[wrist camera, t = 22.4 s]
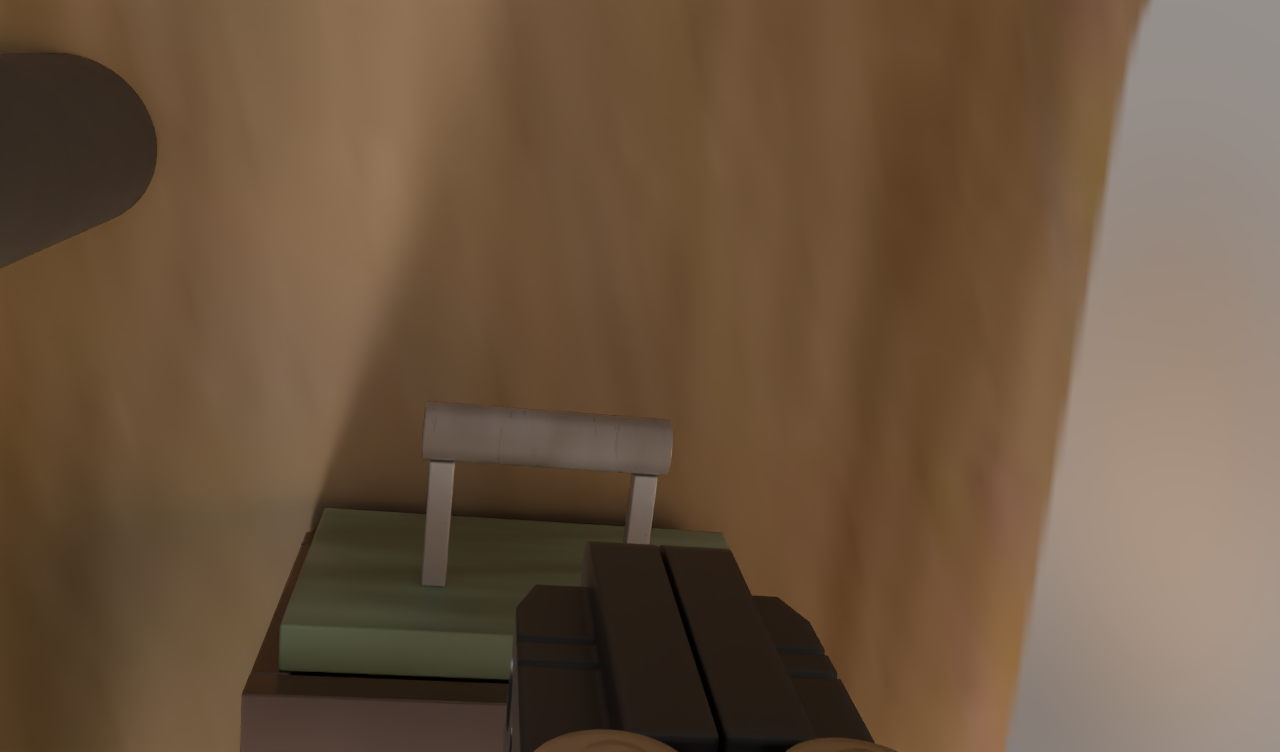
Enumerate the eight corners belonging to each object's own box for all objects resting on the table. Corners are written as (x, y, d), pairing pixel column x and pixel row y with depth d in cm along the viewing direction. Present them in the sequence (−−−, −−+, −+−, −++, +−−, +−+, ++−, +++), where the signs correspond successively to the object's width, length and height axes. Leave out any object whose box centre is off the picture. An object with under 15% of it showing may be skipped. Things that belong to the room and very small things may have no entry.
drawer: (331, 347, 31) (286, 428, 24) (744, 381, 33) (807, 465, 26) (305, 906, 36) (261, 1100, 29) (666, 910, 37) (702, 1094, 31)
